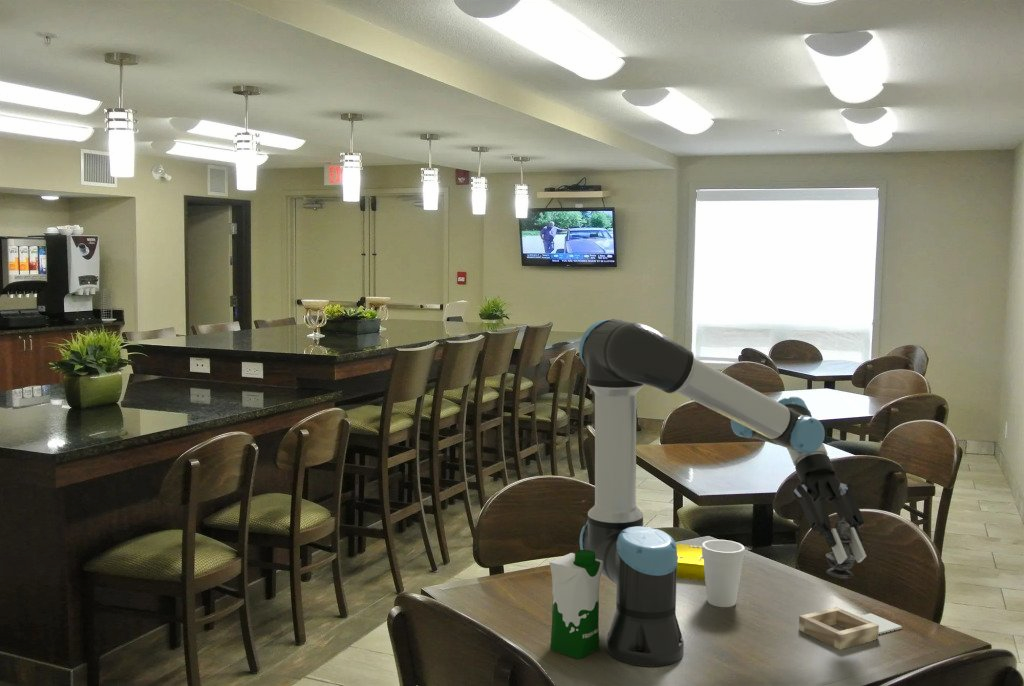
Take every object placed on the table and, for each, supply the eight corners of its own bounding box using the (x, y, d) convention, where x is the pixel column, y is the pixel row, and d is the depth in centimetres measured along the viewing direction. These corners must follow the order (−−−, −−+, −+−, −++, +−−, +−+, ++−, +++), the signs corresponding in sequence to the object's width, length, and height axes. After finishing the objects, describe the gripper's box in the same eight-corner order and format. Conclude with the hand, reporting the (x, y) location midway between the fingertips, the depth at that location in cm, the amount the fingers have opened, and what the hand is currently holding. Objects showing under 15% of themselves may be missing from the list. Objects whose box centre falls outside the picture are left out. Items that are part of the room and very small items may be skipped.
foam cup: (732, 613, 199) (734, 555, 198) (693, 603, 204) (695, 547, 203) (749, 600, 206) (751, 544, 205) (711, 591, 212) (713, 537, 211)
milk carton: (580, 662, 174) (582, 561, 172) (543, 649, 179) (544, 551, 177) (605, 647, 180) (607, 550, 179) (569, 635, 186) (570, 540, 184)
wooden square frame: (840, 649, 180) (840, 635, 180) (798, 629, 190) (799, 615, 190) (878, 639, 186) (878, 625, 185) (836, 620, 195) (836, 606, 195)
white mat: (875, 635, 187) (875, 633, 187) (844, 621, 194) (844, 619, 194) (901, 628, 191) (901, 626, 191) (870, 615, 198) (870, 613, 198)
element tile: (731, 564, 232) (732, 546, 231) (729, 584, 217) (730, 565, 217) (672, 559, 236) (673, 541, 235) (666, 578, 221) (667, 559, 221)
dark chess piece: (856, 580, 183) (860, 522, 182) (826, 577, 185) (830, 520, 183) (852, 570, 189) (856, 514, 188) (823, 567, 190) (826, 511, 189)
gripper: (837, 469, 202) (879, 566, 187) (769, 471, 198) (807, 570, 183) (853, 450, 196) (897, 549, 182) (783, 453, 192) (823, 553, 178)
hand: (852, 559), depth 183 cm, fingers closed on dark chess piece, 4 cm apart
